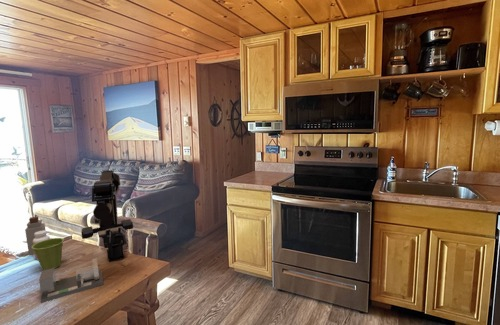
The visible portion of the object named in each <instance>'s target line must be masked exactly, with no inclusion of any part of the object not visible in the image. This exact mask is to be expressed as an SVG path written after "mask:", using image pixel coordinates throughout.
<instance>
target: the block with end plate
mask: <svg viewBox="0 0 500 325" xmlns="http://www.w3.org/2000/svg"><path fill="white" fill-rule="evenodd" d="M91 260H92V265H88V266H84V267H79V268H76V269H75V276H76V278H77V279H78V278H80V282H81V285H82V284H83V281H86V280H90V279H94V278H95V280H96V279H99V272H98V270H99V266H98V264H99V263H98V258H97V257H96V258H92V259H91Z"/></svg>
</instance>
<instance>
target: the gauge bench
mask: <svg viewBox="0 0 500 325" xmlns="http://www.w3.org/2000/svg"><path fill="white" fill-rule="evenodd" d="M98 272H99V279H96V280H95V278H94V279H90V280H86V281H83V284H82V285H81V286H80V287H77V278H76V275H74V276H70V277H67V278H66V277H65V278H63V279H59V280H56V278H57V277H56V272H55V269H54V268H52V269H48V270H41V272H40V276H39V278H38V279H39V280H38V281H39V282H38V283H39V288H40V294H41V295H40V303H41V304H43V303H45V302H48V301H51V300H56V299H60V298H62V297H66V296H69V295H72V294H73V295H74V294H76V293H80V292H84V291H86V290H90V289H94V288H98V287H101V286H103V285H104V278H103V271H102V269H101V268H99V269H98ZM80 283H81V282H80Z"/></svg>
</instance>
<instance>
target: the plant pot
mask: <svg viewBox="0 0 500 325" xmlns="http://www.w3.org/2000/svg"><path fill="white" fill-rule="evenodd" d="M64 240H65V239H64V238H62V237H55V238H50V239H48V240H44V241H41V242H38V243H36V244H34V245H33V246H32V249H34V251H35V253H36V255H37V257H38V260H37V261H38V262H39V265H40V268H41V269H42V270H41V271H44V270H48V269H52V268H54V270H55V269H56V268H57V267H60V266H62V259H63V258H62V257H63V255H62V254H63V253H62V252H63V244H64Z"/></svg>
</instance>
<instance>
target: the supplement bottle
mask: <svg viewBox="0 0 500 325" xmlns="http://www.w3.org/2000/svg"><path fill="white" fill-rule="evenodd" d="M34 236H35V238H34V239H33V245H34V244H36V243H38V242H41V241H44V240H48V239H51V237H50V236H49V235H48V234H47V231H39V232H36V233H34ZM34 253H35V251H34ZM34 258H35V260H37V261H39V260H38V257H37V255H36V253H35V255H34Z"/></svg>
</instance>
